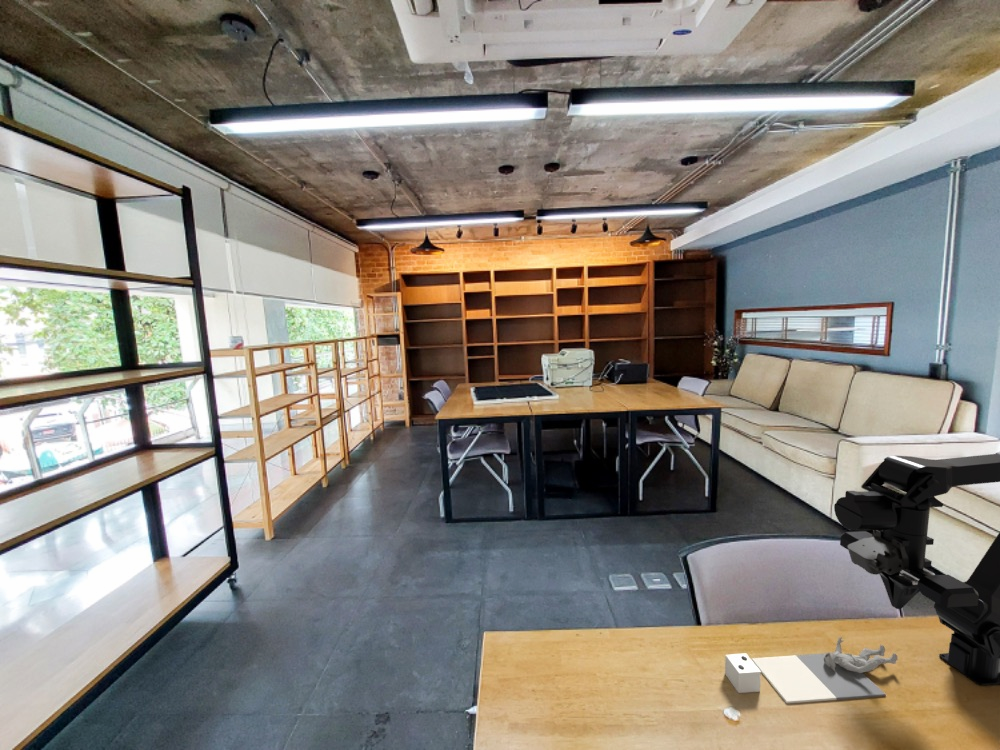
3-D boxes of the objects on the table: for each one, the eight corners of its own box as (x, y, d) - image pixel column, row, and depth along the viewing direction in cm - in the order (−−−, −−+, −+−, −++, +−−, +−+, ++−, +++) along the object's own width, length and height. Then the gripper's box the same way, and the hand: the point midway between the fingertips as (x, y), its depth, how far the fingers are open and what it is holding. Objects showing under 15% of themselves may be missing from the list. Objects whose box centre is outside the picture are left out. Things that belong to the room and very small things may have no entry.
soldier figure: (914, 665, 70) (845, 654, 70) (911, 693, 70) (843, 681, 70) (874, 638, 78) (812, 628, 78) (872, 663, 77) (810, 653, 78)
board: (839, 654, 78) (839, 652, 77) (885, 696, 69) (885, 694, 69) (751, 660, 77) (751, 658, 77) (786, 703, 68) (786, 701, 68)
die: (745, 672, 74) (746, 652, 74) (760, 691, 70) (760, 671, 70) (724, 673, 74) (725, 654, 74) (738, 693, 70) (739, 672, 70)
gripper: (816, 506, 79) (812, 578, 81) (918, 560, 60) (909, 651, 62) (869, 503, 79) (863, 575, 81) (986, 556, 61) (975, 647, 63)
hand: (896, 607), depth 72 cm, fingers closed
